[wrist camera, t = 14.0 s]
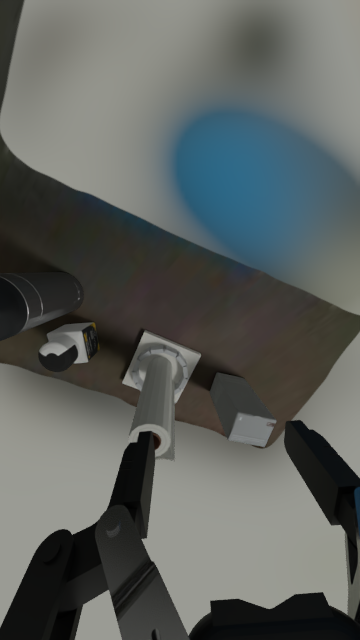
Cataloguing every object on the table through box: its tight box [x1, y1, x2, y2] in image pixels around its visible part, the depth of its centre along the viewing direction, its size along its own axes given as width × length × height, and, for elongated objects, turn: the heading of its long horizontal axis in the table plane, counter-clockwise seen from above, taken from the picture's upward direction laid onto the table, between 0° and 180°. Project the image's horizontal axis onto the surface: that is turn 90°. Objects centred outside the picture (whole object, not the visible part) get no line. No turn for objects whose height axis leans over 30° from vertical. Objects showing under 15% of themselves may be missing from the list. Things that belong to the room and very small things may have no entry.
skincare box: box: [210, 372, 276, 447], centre depth 43 cm, size 8×7×16 cm
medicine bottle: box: [39, 322, 100, 372], centre depth 41 cm, size 7×7×12 cm
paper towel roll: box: [129, 357, 175, 461], centre depth 37 cm, size 7×6×21 cm
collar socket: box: [122, 330, 201, 403], centre depth 47 cm, size 15×15×4 cm
